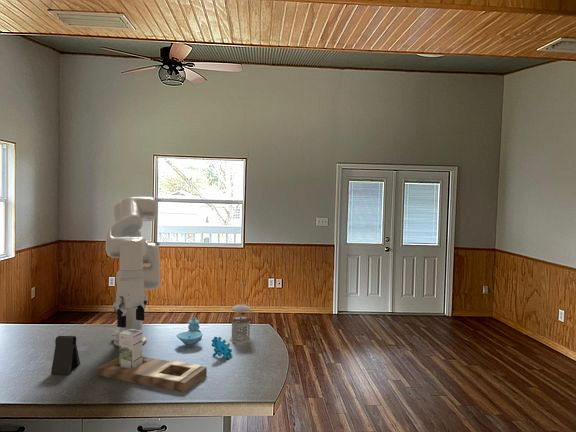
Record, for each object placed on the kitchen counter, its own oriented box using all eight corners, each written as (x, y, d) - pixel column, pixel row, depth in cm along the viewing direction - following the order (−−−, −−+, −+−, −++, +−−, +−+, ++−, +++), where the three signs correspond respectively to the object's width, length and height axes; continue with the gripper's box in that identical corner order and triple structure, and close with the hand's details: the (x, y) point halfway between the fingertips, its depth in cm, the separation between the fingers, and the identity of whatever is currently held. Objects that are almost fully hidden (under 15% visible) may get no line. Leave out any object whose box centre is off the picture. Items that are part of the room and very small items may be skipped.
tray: (98, 375, 154) (98, 366, 154) (125, 361, 167) (125, 352, 167) (184, 392, 143) (184, 382, 143) (206, 375, 156) (206, 366, 156)
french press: (224, 339, 195) (225, 281, 194) (246, 333, 203) (247, 278, 202) (237, 345, 188) (238, 285, 187) (259, 339, 196) (260, 282, 194)
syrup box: (143, 370, 160) (143, 329, 159) (132, 376, 154) (132, 334, 153) (129, 367, 162) (129, 327, 161) (118, 373, 156) (118, 332, 155)
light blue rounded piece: (200, 350, 181) (200, 328, 181) (173, 349, 181) (174, 327, 180) (207, 336, 199) (207, 315, 199) (183, 335, 199) (183, 315, 198)
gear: (223, 359, 167) (209, 337, 170) (213, 369, 168) (199, 346, 172) (238, 354, 177) (225, 333, 180) (228, 363, 178) (215, 342, 182)
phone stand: (64, 364, 163) (63, 332, 162) (80, 365, 163) (80, 332, 162) (50, 374, 154) (50, 340, 153) (68, 375, 154) (68, 340, 153)
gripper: (138, 270, 165) (138, 316, 166) (104, 277, 149) (104, 328, 150) (155, 271, 163) (155, 318, 163) (123, 279, 147) (123, 331, 147)
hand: (131, 323), depth 156 cm, fingers open, 9 cm apart
